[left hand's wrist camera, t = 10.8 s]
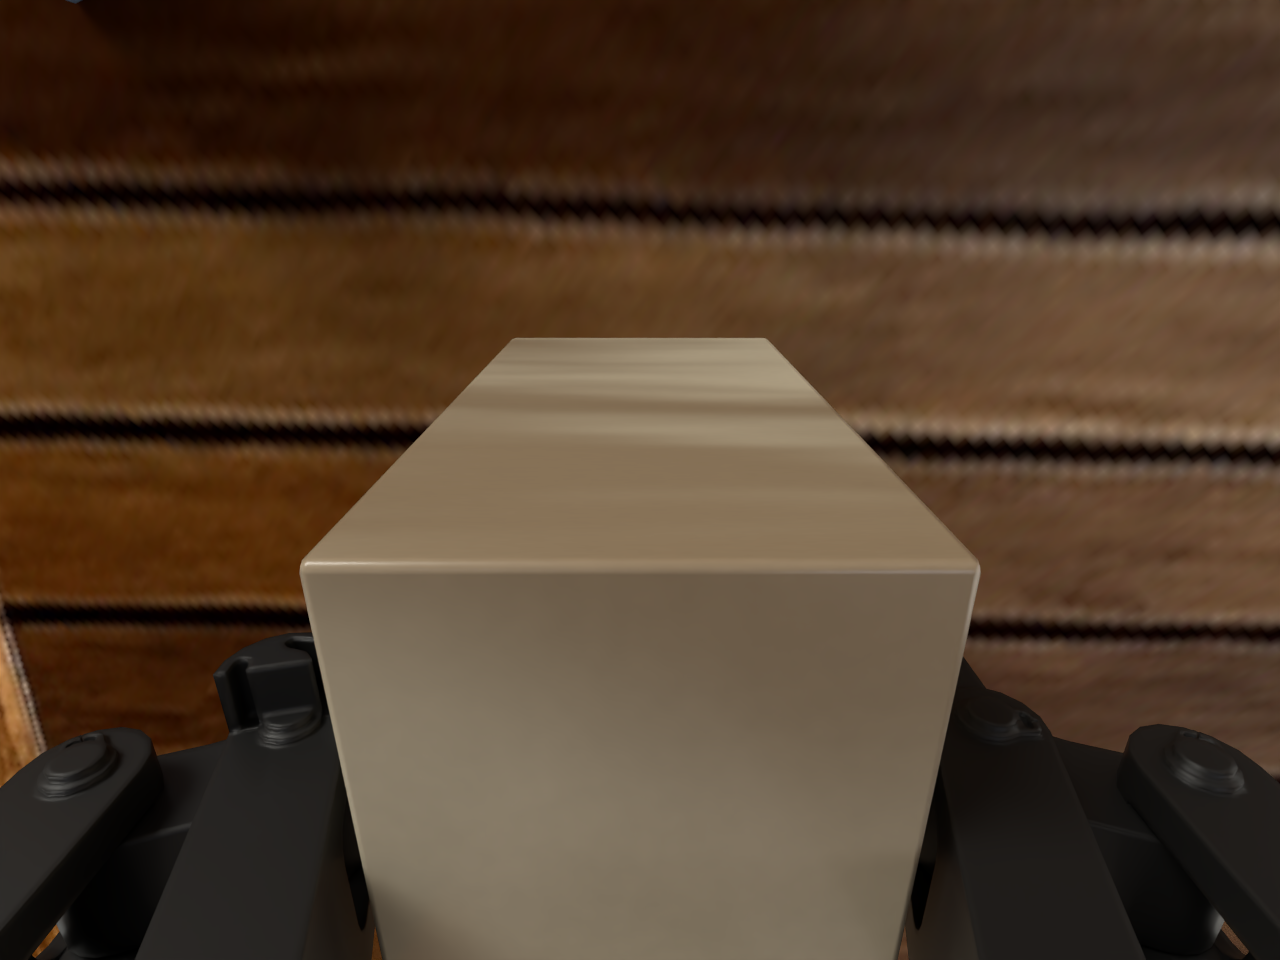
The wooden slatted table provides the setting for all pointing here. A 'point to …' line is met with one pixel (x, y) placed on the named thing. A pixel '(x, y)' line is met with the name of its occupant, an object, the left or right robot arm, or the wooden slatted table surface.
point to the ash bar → (640, 665)
